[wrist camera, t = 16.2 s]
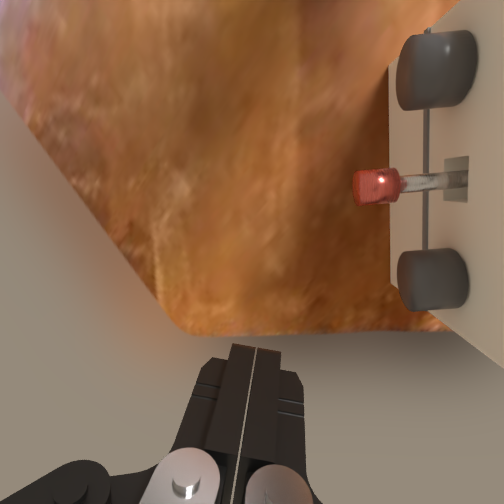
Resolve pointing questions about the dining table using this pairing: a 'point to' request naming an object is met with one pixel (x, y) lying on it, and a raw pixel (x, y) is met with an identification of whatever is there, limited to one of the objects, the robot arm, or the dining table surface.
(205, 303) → the dining table surface
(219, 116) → the dining table surface
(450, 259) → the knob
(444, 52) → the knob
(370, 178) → the red capped lever stalk
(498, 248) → the panel
